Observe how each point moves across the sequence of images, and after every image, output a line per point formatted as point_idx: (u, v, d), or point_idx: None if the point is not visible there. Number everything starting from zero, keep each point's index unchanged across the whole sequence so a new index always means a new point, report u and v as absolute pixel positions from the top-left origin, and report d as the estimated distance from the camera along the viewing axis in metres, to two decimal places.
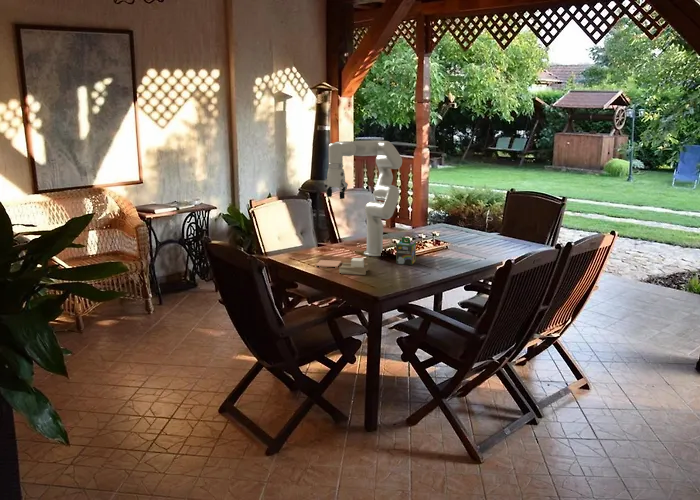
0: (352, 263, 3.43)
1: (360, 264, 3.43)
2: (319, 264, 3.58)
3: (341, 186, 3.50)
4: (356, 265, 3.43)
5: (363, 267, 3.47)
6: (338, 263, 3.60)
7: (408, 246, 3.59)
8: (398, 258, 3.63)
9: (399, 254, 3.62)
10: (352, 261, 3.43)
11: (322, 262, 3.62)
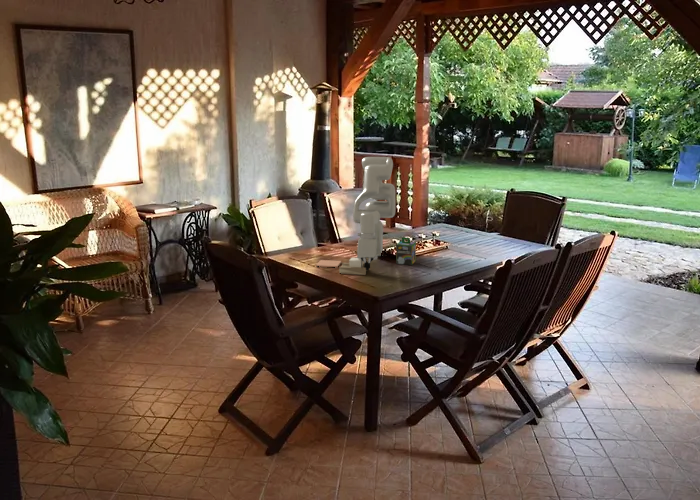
0: (350, 263, 3.43)
1: (359, 264, 3.42)
2: (319, 264, 3.58)
3: None
4: (354, 265, 3.43)
5: (362, 267, 3.47)
6: (338, 263, 3.60)
7: (408, 246, 3.59)
8: (398, 258, 3.63)
9: (399, 254, 3.62)
10: (350, 261, 3.43)
11: (322, 262, 3.62)
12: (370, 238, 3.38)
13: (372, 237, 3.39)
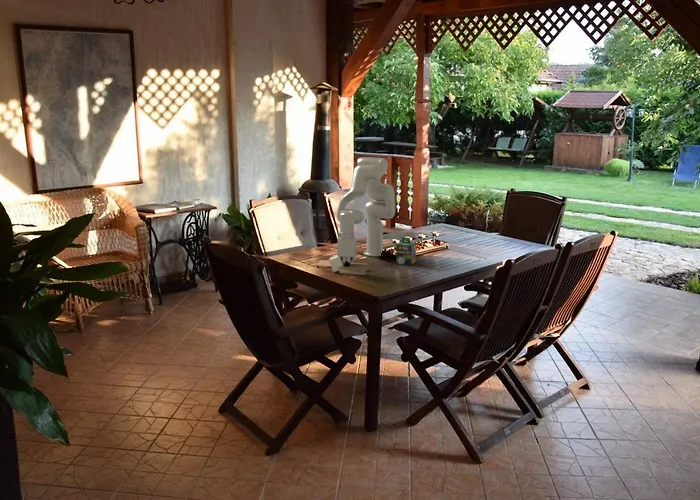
0: (331, 262, 3.45)
1: (339, 260, 3.44)
2: (319, 264, 3.58)
3: None
4: (335, 263, 3.45)
5: (343, 263, 3.49)
6: None
7: (408, 246, 3.59)
8: (398, 258, 3.63)
9: (399, 254, 3.62)
10: (330, 260, 3.45)
11: (322, 262, 3.62)
12: (349, 238, 3.40)
13: (351, 237, 3.41)
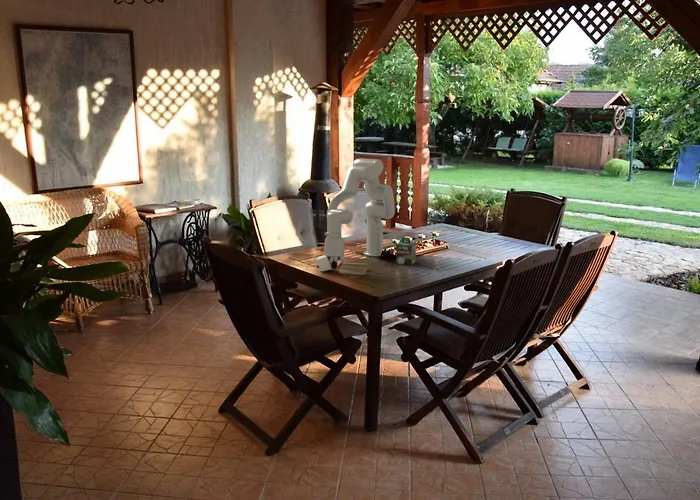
0: (318, 262, 3.45)
1: (326, 260, 3.45)
2: None
3: None
4: (322, 262, 3.45)
5: (330, 262, 3.50)
6: (338, 263, 3.60)
7: (408, 246, 3.59)
8: (398, 258, 3.63)
9: (399, 254, 3.62)
10: (317, 260, 3.45)
11: None
12: (336, 237, 3.41)
13: (339, 236, 3.42)
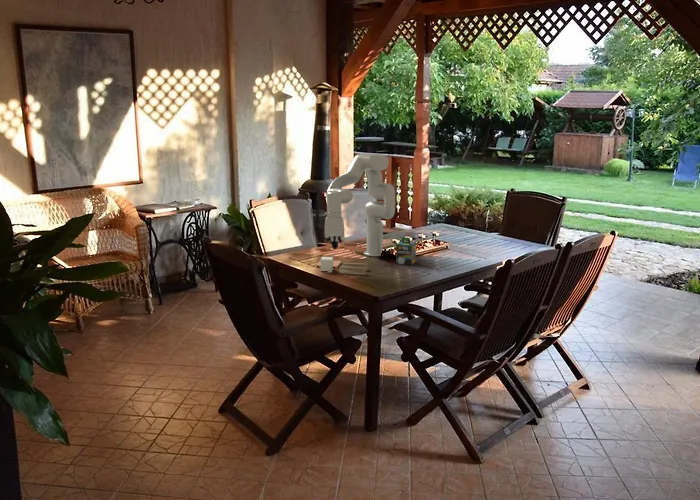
0: (321, 262, 3.45)
1: (330, 263, 3.45)
2: (319, 264, 3.58)
3: None
4: (325, 264, 3.45)
5: (332, 266, 3.50)
6: (338, 263, 3.60)
7: (408, 246, 3.59)
8: (398, 258, 3.63)
9: (399, 254, 3.62)
10: (321, 260, 3.45)
11: None
12: (336, 217, 3.39)
13: (339, 216, 3.39)
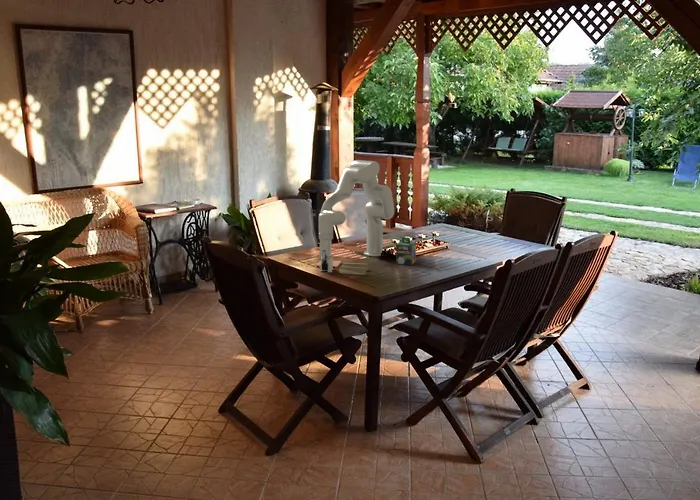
0: (321, 262, 3.45)
1: (330, 263, 3.45)
2: (319, 264, 3.58)
3: None
4: None
5: (332, 265, 3.50)
6: (338, 263, 3.60)
7: (408, 246, 3.59)
8: (398, 258, 3.63)
9: (399, 254, 3.62)
10: (321, 260, 3.45)
11: None
12: (319, 237, 3.44)
13: (320, 237, 3.43)
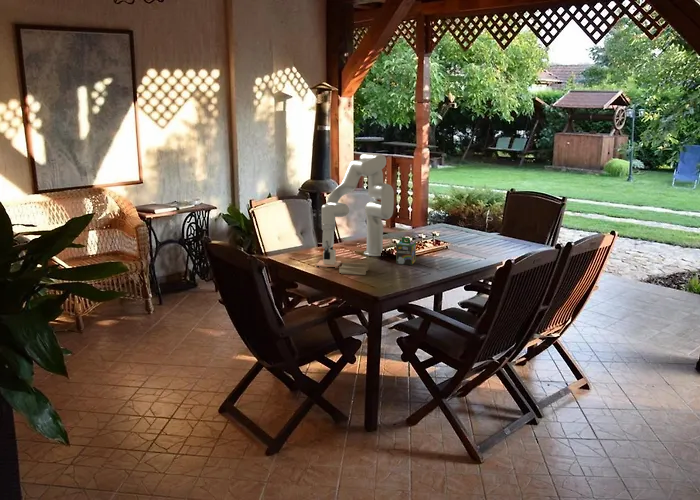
0: None
1: (332, 255, 3.57)
2: (319, 264, 3.58)
3: None
4: None
5: (335, 258, 3.62)
6: (338, 263, 3.60)
7: (408, 246, 3.59)
8: (398, 258, 3.63)
9: (399, 254, 3.62)
10: None
11: (322, 262, 3.62)
12: (322, 228, 3.56)
13: (323, 228, 3.54)
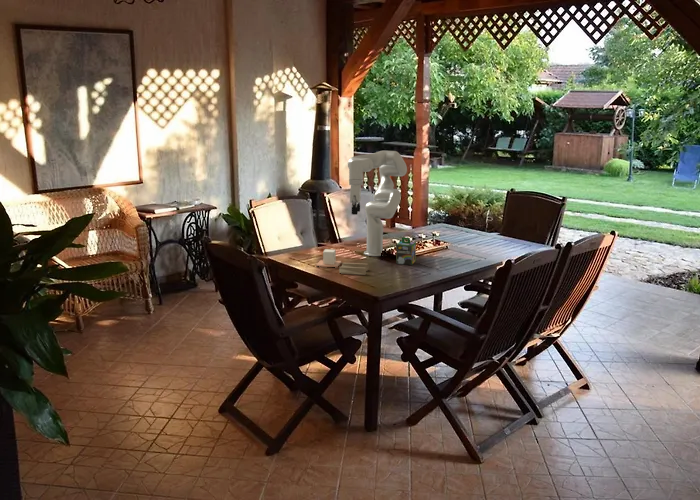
0: (324, 254, 3.58)
1: (332, 255, 3.57)
2: (319, 264, 3.58)
3: None
4: (328, 256, 3.58)
5: (335, 258, 3.62)
6: (338, 263, 3.60)
7: (408, 246, 3.59)
8: (398, 258, 3.63)
9: (399, 254, 3.62)
10: (324, 252, 3.57)
11: (322, 262, 3.62)
12: (349, 183, 3.55)
13: (351, 183, 3.54)
